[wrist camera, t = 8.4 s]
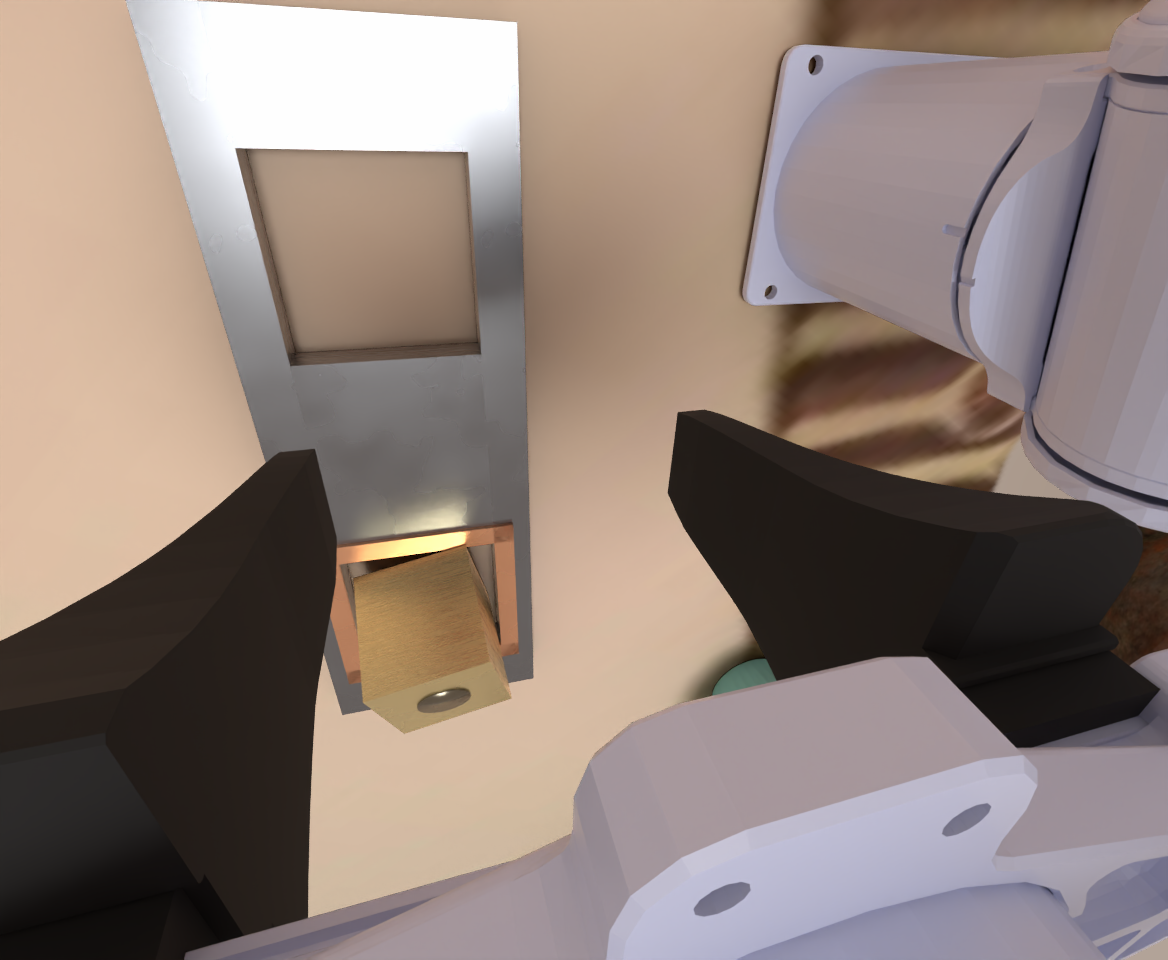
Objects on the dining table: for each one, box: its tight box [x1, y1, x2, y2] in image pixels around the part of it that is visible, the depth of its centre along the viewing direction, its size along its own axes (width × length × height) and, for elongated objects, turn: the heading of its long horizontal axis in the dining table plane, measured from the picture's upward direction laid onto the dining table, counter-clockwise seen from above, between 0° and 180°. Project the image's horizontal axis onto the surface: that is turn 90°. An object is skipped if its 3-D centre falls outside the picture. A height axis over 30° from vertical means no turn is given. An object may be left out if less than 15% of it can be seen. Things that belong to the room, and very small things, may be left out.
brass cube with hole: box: [353, 545, 511, 734], centre depth 24 cm, size 4×4×5 cm
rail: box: [125, 0, 533, 715], centre depth 22 cm, size 9×26×1 cm, turn 178°
